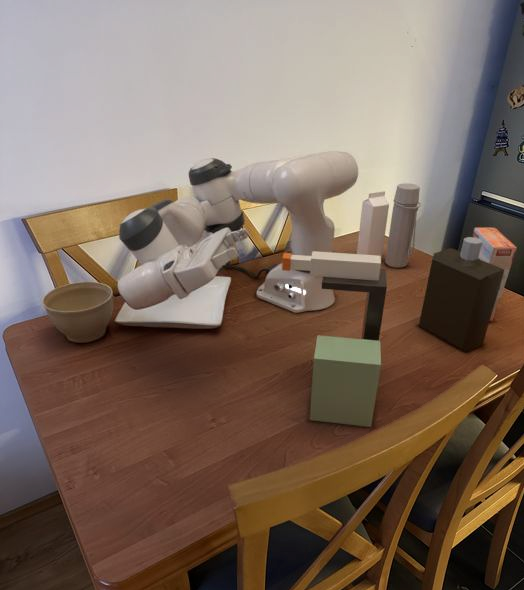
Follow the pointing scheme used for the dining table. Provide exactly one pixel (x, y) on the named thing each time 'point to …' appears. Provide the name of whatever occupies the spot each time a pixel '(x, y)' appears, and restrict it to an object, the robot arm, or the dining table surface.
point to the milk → (373, 224)
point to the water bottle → (402, 225)
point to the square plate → (182, 309)
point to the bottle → (460, 295)
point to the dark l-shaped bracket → (373, 300)
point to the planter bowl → (80, 310)
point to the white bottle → (335, 265)
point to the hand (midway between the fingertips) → (242, 241)
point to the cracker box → (495, 255)
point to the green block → (345, 380)
